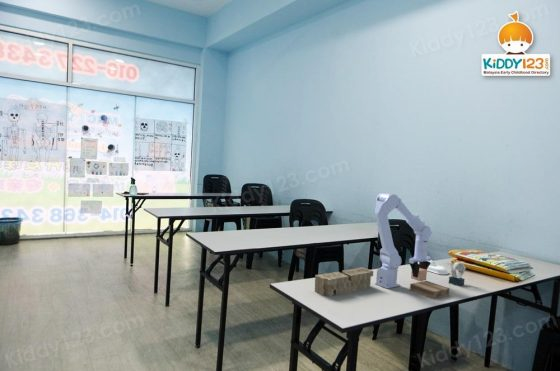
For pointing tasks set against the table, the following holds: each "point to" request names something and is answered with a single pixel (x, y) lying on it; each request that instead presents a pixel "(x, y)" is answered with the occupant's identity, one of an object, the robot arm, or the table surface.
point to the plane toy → (436, 268)
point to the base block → (429, 289)
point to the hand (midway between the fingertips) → (418, 276)
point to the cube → (420, 275)
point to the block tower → (343, 281)
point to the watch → (456, 278)
